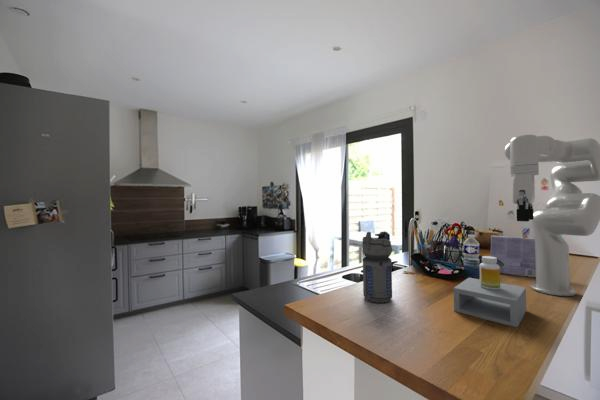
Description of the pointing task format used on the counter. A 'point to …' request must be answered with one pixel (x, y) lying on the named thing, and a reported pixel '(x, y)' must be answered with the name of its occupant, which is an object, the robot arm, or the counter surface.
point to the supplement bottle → (489, 273)
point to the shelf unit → (491, 302)
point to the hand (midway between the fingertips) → (525, 220)
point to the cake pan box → (514, 255)
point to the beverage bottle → (377, 268)
